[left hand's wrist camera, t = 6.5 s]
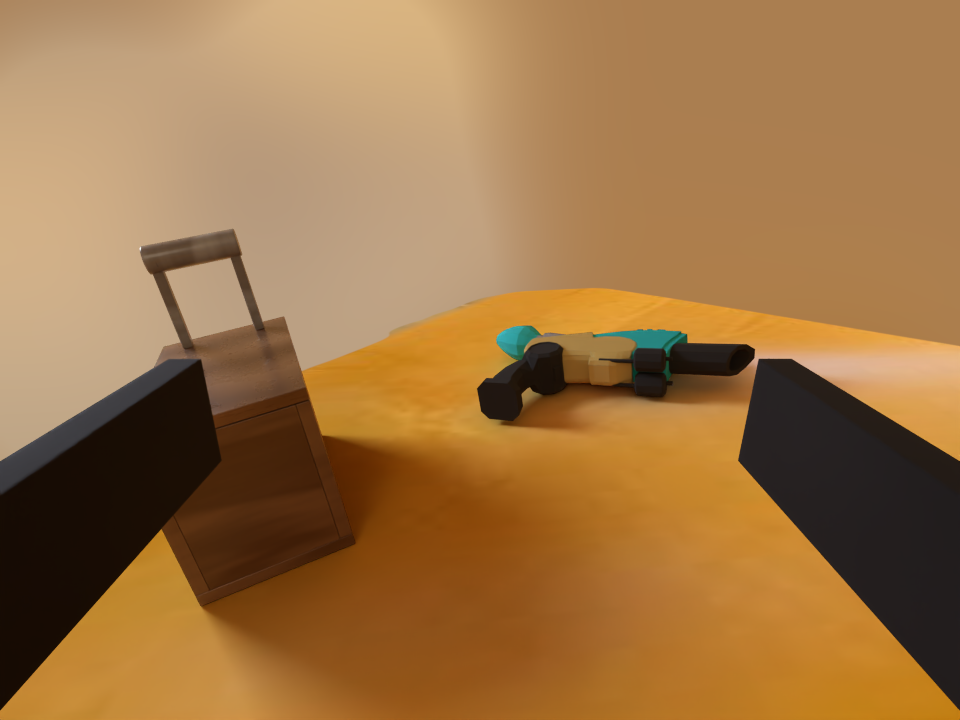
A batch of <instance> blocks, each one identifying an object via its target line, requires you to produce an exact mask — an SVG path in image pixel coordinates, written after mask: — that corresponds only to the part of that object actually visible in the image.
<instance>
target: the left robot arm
mask: <svg viewBox="0 0 960 720" xmlns="http://www.w3.org/2000/svg"><path fill="white" fill-rule="evenodd" d="M221 461H222V459H221V454H220V449H219V444H218V439H217V434H216V429H215V425H214V420H213V415H212V410H211V405H210V400H209V395H208V390H207V385H206V380H205V375H204V370H203V365H202V360H201V359H168V360H166V361H164V362H163V363H161V364H159V365H158V366H156V367H155V368H153V369H151V370H150V371H148V372H146V373H145V374H143V375H141V376H140V377H138V378H136V379H135V380H133V381H132V382H130V383H128V384H127V385H125V386H123V387H122V388H120V389H118V390H117V391H115V392H113V393H112V394H110V395H108V396H107V397H105V398H104V399H102V400H100V401H99V402H97V403H95V404H94V405H92V406H90V407H89V408H87V409H86V410H84V411H82V412H81V413H79V414H77V415H76V416H74V417H72V418H71V419H69V420H67V421H66V422H64V423H62V424H61V425H59V426H58V427H56V428H54V429H53V430H51V431H49V432H48V433H46V434H44V435H43V436H41V437H39V438H38V439H36V440H35V441H33V442H31V443H30V444H28V445H26V446H25V447H23V448H21V449H20V450H18V451H16V452H15V453H13V454H11V455H10V456H8V457H7V458H5V459H3V460H2V461H0V710H1V709H2V708H3V707H4V706H5V705H6V703H7V702H8V701H9V700H10V699H11V698H12V697H13V696H14V694H15V693H16V692H17V691H18V690H19V689H20V688H21V686H22V685H23V684H24V683H25V682H26V681H27V680H28V679H29V677H30V676H31V675H32V674H33V673H34V672H35V671H36V670H37V668H38V667H39V666H40V665H41V664H42V663H43V662H44V661H45V659H46V658H47V657H48V656H49V655H50V654H51V653H52V652H53V650H54V649H55V648H56V647H57V646H58V645H59V644H60V643H61V641H62V640H63V639H64V638H65V637H66V636H67V635H68V633H69V632H70V631H71V630H72V629H73V628H74V627H75V626H76V624H77V623H78V622H79V621H80V620H81V619H82V618H83V617H84V615H85V614H86V613H87V612H88V611H89V610H90V609H91V608H92V606H93V605H94V604H95V603H96V602H97V601H98V600H99V599H100V597H101V596H102V595H103V594H104V593H105V592H106V591H107V590H108V588H109V587H110V586H111V585H112V584H113V583H114V582H115V581H116V579H117V578H118V577H119V576H120V575H121V574H122V573H123V571H124V570H125V569H126V568H127V567H128V566H129V565H130V564H131V562H132V561H133V560H134V559H135V558H136V557H137V556H138V555H139V553H140V552H141V551H142V550H143V549H144V548H145V547H146V546H147V544H148V543H149V542H150V541H151V540H152V539H153V538H154V537H155V535H156V534H157V533H158V532H159V531H160V530H161V529H162V528H163V526H164V525H165V524H166V523H167V522H168V521H169V520H170V519H171V517H172V516H173V515H174V514H175V513H176V512H177V511H178V509H179V508H180V507H181V506H182V505H183V504H184V503H185V502H186V500H187V499H188V498H189V497H190V496H191V495H192V494H193V493H194V491H195V490H196V489H197V488H198V487H199V486H200V485H201V484H202V482H203V481H204V480H205V479H206V478H207V477H208V476H209V475H210V473H211V472H212V471H213V470H214V469H215V468H216V467H217V466H218V464H219V463H220V462H221ZM738 461H739V462H740V463H741V464H742V466H743V467H744V468H745V469H746V470H747V471H748V472H749V473H750V475H751V476H752V477H753V478H754V479H755V480H756V481H757V482H758V484H759V485H760V486H761V487H762V488H763V489H764V490H765V491H766V493H767V494H768V495H769V496H770V497H771V498H772V499H773V500H774V502H775V503H776V504H777V505H778V506H779V507H780V508H781V509H782V511H783V512H784V513H785V514H786V515H787V516H788V517H789V519H790V520H791V521H792V522H793V523H794V524H795V525H796V526H797V528H798V529H799V530H800V531H801V532H802V533H803V534H804V535H805V537H806V538H807V539H808V540H809V541H810V542H811V543H812V544H813V546H814V547H815V548H816V549H817V550H818V551H819V552H820V553H821V555H822V556H823V557H824V558H825V559H826V560H827V561H828V562H829V564H830V565H831V566H832V567H833V568H834V569H835V570H836V571H837V573H838V574H839V575H840V576H841V577H842V578H843V579H844V581H845V582H846V583H847V584H848V585H849V586H850V587H851V588H852V590H853V591H854V592H855V593H856V594H857V595H858V596H859V597H860V599H861V600H862V601H863V602H864V603H865V604H866V605H867V606H868V608H869V609H870V610H871V611H872V612H873V613H874V614H875V615H876V617H877V618H878V619H879V620H880V621H881V622H882V623H883V624H884V626H885V627H886V628H887V629H888V630H889V631H890V632H891V634H892V635H893V636H894V637H895V638H896V639H897V640H898V641H899V643H900V644H901V645H902V646H903V647H904V648H905V649H906V650H907V652H908V653H909V654H910V655H911V656H912V657H913V658H914V659H915V661H916V662H917V663H918V664H919V665H920V666H921V667H922V668H923V670H924V671H925V672H926V673H927V674H928V675H929V676H930V677H931V679H932V680H933V681H934V682H935V683H936V684H937V685H938V686H939V688H940V689H941V690H942V691H943V692H944V693H945V694H946V696H947V697H948V698H949V699H950V700H951V701H952V702H953V703H954V705H955V706H956V707H957V708H958V709H959V710H960V461H958V460H957V459H955V458H953V457H952V456H950V455H949V454H947V453H945V452H944V451H942V450H940V449H939V448H937V447H935V446H934V445H932V444H930V443H929V442H927V441H926V440H924V439H922V438H921V437H919V436H917V435H916V434H914V433H912V432H911V431H909V430H907V429H906V428H904V427H902V426H901V425H899V424H898V423H896V422H894V421H893V420H891V419H889V418H888V417H886V416H884V415H883V414H881V413H879V412H878V411H876V410H875V409H873V408H871V407H870V406H868V405H866V404H865V403H863V402H861V401H860V400H858V399H856V398H855V397H853V396H852V395H850V394H848V393H847V392H845V391H843V390H842V389H840V388H838V387H837V386H835V385H833V384H832V383H830V382H828V381H827V380H825V379H824V378H822V377H820V376H819V375H817V374H815V373H814V372H812V371H810V370H809V369H807V368H805V367H804V366H802V365H801V364H799V363H797V362H796V361H794V360H792V359H759V360H758V365H757V370H756V375H755V380H754V385H753V390H752V395H751V400H750V405H749V410H748V415H747V420H746V424H745V429H744V434H743V439H742V444H741V449H740V454H739V459H738Z"/></svg>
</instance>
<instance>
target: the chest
mask: <svg viewBox="0 0 960 720" xmlns="http://www.w3.org/2000/svg"><path fill="white" fill-rule="evenodd" d="M293 347H294V346H293ZM294 350H295V349H294ZM295 353H296V352H295ZM297 360H298V359H297ZM298 363H299V362H298ZM299 366H300V365H299ZM300 369H301V368H300ZM301 373H302V371H301ZM302 376H303V374H302ZM303 379H304V378H303ZM304 382H305V381H304ZM305 386H306V384H305ZM306 389H307V387H306ZM307 392H308V390H307ZM308 395H309V393H308ZM215 429H216V434H217V439H218V444H219V449H220V454H221V459H222V461H221V462H220V463H219V464H218V466H217V467H216V468H215V469H214V470H213V471H212V472H211V473H210V475H209V476H208V477H207V478H206V479H205V480H204V481H203V482H202V484H201V485H200V486H199V487H198V488H197V489H196V490H195V491H194V493H193V494H192V495H191V496H190V497H189V498H188V499H187V500H186V502H185V503H184V504H183V505H182V506H181V507H180V508H179V509H178V511H177V512H176V513H175V514H174V515H173V516H172V517H171V519H170V520H169V521H168V522H167V523H166V524H165V525H164V526H163V528H162V531H163V533H164V535H165V537H166V539H167V541H168V543H169V545H170V547H171V549H172V551H173V553H174V554H175V556H176V558H177V560H178V562H179V564H180V566H181V568H182V570H183V572H184V574H185V576H186V578H187V580H188V582H189V584H190V586H191V588H192V590H193V592H194V594H195V596H196V598H197V600H198V602H199V604H200V606H203V605H205V604H208V603H210V602H213V601H215V600H217V599H220V598H222V597H225V596H227V595H230V594H232V593H235V592H237V591H239V590H242V589H244V588H247V587H249V586H252V585H254V584H257V583H259V582H262V581H264V580H266V579H269V578H271V577H274V576H276V575H279V574H281V573H284V572H286V571H288V570H291V569H293V568H296V567H298V566H301V565H303V564H306V563H308V562H311V561H313V560H315V559H318V558H320V557H323V556H325V555H328V554H330V553H333V552H335V551H338V550H340V549H342V548H345V547H347V546H350V545H352V544H355V540H354V537H353V534H352V530H351V527H350V524H349V521H348V518H347V514H346V511H345V508H344V505H343V502H342V498H341V495H340V492H339V489H338V486H337V482H336V479H335V476H334V473H333V470H332V466H331V463H330V460H329V457H328V454H327V450H326V447H325V444H324V441H323V437H322V434H321V431H320V428H319V425H318V422H317V419H316V415H315V412H314V409H313V406H312V403H311V400H310V396H309V400H306V401H302V402H299V403H296V404H293V405H289V406H286V407H283V408H280V409H276V410H273V411H270V412H267V413H263V414H260V415H257V416H254V417H250V418H247V419H244V420H241V421H237V422H234V423H231V424H228V425H224V426H221V427H218V428H215Z"/></svg>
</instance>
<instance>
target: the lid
mask: <svg viewBox="0 0 960 720" xmlns="http://www.w3.org/2000/svg"><path fill="white" fill-rule="evenodd" d="M140 253H141V257H142V260H143V262H144V265H145V267H146V269H147V270H148V272H149V273H150V274H153V276H154V278H155V280H156V283H157V285H158V288H159V290H160V293H161V295H162V298H163V300H164V302H165V305H166V307H167V310H168V312H169V315H170V317H171V320H172V322H173V324H174V327H175V329H176V332H177V334H178V337H179V339H180V342H181V343H177V344H173V345H169V346H165V347H163V349H162V351H161V354H160V356H159V358H158V360H157V362H156V364H155V366H154V368H155V367H156V366H158V365H159V364H161V363H163V362H164V361H166V360H168V359H201V360H202V365H203V370H204V375H205V380H206V385H207V390H208V395H209V400H210V405H211V410H212V415H213V420H214V425H215V428H218V427H221V426H224V425H228V424H231V423H234V422H237V421H241V420H244V419H247V418H250V417H254V416H257V415H260V414H263V413H267V412H270V411H273V410H276V409H280V408H283V407H286V406H289V405H293V404H296V403H299V402H302V401H306V400H309V395H308V392H307V389H306V386H305V382H304V379H303V376H302V373H301V369H300V366H299V363H298V360H297V356H296V353H295V350H294V347H293V343H292V340H291V337H290V334H289V330H288V327H287V324H286V321H285V318H284V317H280V318H276V319H272V320H268V321H264V322H263V321H262V318H261V315H260V312H259V309H258V307H257V304H256V300H255V298H254V295H253V292H252V289H251V286H250V283H249V280H248V277H247V274H246V271H245V268H244V265H243V262H242V259H241V255H242V252H241V249H240V245H239V242H238V240H237V237H236V234H235V231H234V229H229V230H224V231H219V232H214V233H209V234H204V235H198V236H193V237H188V238H183V239H177V240H173V241H167V242H162V243H157V244H152V245H146V246H141V247H140ZM228 258H231V260H232V263H233V266H234V269H235V272H236V275H237V278H238V281H239V284H240V287H241V289H242V292H243V295H244V298H245V301H246V304H247V307H248V310H249V313H250V315H251V319H252V321H253V324H252V325H248V326H244V327H240V328H236V329H232V330H228V331H224V332H221V333H217V334H213V335H209V336H205V337H201V338H197V339H193V340H192V339H191V336H190V334H189V331H188V329H187V326H186V324H185V321H184V319H183V316H182V314H181V311H180V309H179V306H178V304H177V301H176V299H175V296H174V294H173V291H172V289H171V286H170V284H169V281H168V279H167V276H166V274H165V272H166V271H171V270H175V269H180V268H185V267H190V266H194V265H199V264H204V263H209V262H214V261H218V260H223V259H228Z"/></svg>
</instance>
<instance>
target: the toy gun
mask: <svg viewBox="0 0 960 720" xmlns="http://www.w3.org/2000/svg"><path fill="white" fill-rule="evenodd" d="M496 341H497V344H498V345H499V347H500V348H501V349H502V350H503V351H504V352H505V353H507V354H508V355H509V356H511V357H512V358H514V359H517V360H519V361H517V362H515V363H513V364H511V365H509V366H507V367H506V368H504V369H503V370H502V371H500V372H499V373H498V374H497V375H495V377H494V378H486V379H485V380H484V381H483V382H482V384H481V385H480V386H479V387H478V388H477V390H478V396H479V402H480V407H481V412H482V413H484V414H485V415H486V416H487V417H488V418H489V419H498V420H508V421H513V420H514V419H515V418H516V417H517V416H518V415H519V414H520V412H521V409H522V407H523V403H522V396H521V394H522V393H523V392H524V391H525V390H526V389H527V388H529V387H530V388H531V389H532V391H534V392H536V393H540V394H553V393H556V392H558V391H561V390H562V389H564V387H565V386H566V384H567V383H591V384H592V385H601V386H617V387H634V389H635V393H636V394H637V395H641V396H656V397H663V396H664V395H665V394H666V389H667V385H673V381H668V380H669V378H670V376H671V375H672V374H694V375H715V376H733V375H737V374H738V373H739V372H741V371H742V370H743V369H744V368H746V367H747V366H748V364H749V363H750V362H751V361H752V360H753V359H754V355H755V349H754V348H752V347H750V346H749V345H747V344H703V343H687V334H683V333H681V331H666V330H652V329H647V330H643V329H640V330H636V331H621V332H613V333H604V334H596V335H593V333H592V332H588V333H578V334H569V335H564V334H556V333H545V334H544V335H541V334H540V333H539V332H538V331H537V330H536V329H535V328H534V327H532V326H516V327H512V328H509V329H506V330H504V331H503V332H501V333H500V334H499V335H498V336H497V339H496Z"/></svg>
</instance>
